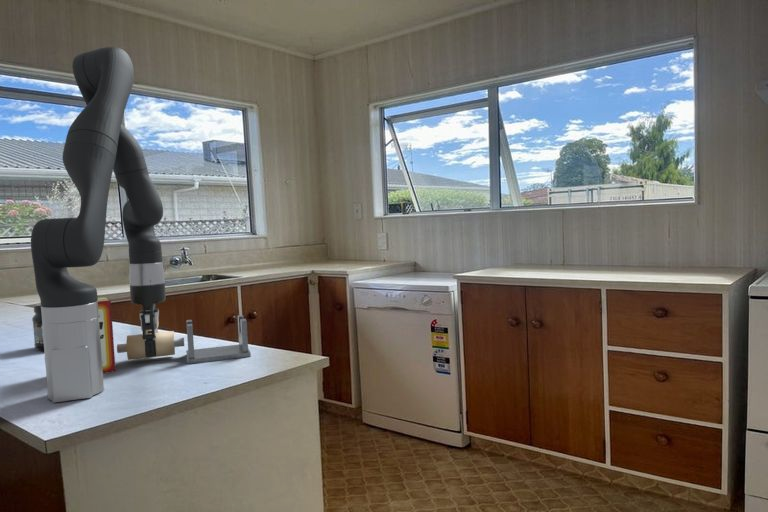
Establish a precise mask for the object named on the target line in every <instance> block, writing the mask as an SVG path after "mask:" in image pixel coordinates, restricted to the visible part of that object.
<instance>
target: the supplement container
mask: <svg viewBox="0 0 768 512" xmlns="http://www.w3.org/2000/svg"><path fill="white" fill-rule="evenodd" d="M33 313H34V315H33V316H32V319H31V321H32V328H33V329H32V330H33V338H34V339H33V340H34V341H33V342H34V344H33V345H34V348H35V350H37V351H39V352H44V340H43V327H42V313H41V302H39V303H35V304H34V305H33Z"/></svg>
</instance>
